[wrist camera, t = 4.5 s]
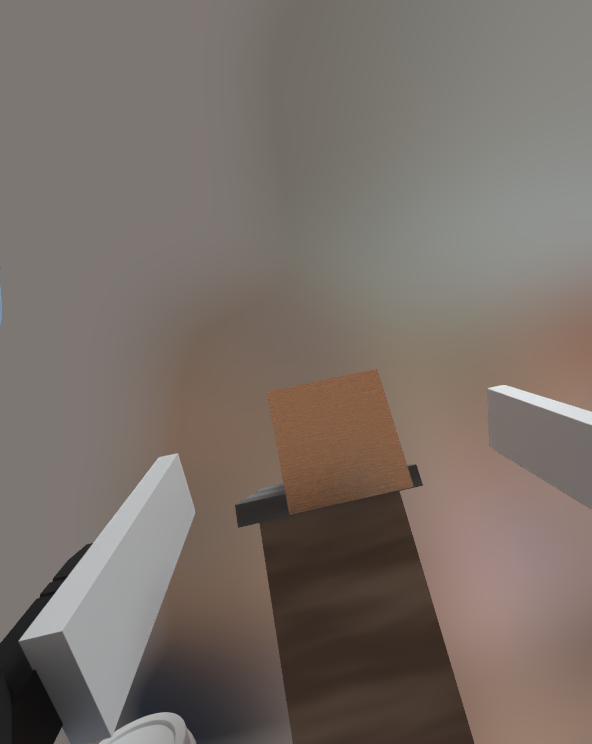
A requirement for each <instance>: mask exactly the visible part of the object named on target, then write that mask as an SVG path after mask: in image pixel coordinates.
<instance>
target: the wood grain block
mask: <svg viewBox="0 0 592 744" xmlns="http://www.w3.org/2000/svg"><path fill="white" fill-rule="evenodd" d="M267 394H268V400H269V405H270V410H271V416H272V421H273V427H274V432H275V438H276V443H277V449H278V454H279V460H280V466H281V471H282V477H283V482H284V488H285V493H286V499H287V504H288V510H289V515H292V514H297V513H301V512H305V511H310V510H314V509H318V508H323V507H327V506H332V505H336V504H340V503H345V502H349V501H353V500H358V499H362V498H367V497H371V496H375V495H380V494H384V493H389V492H393V491H397V490H402V489H406V488H410V487H414V486H413V483H412V480H411V477H410V473H409V470H408V467H407V464H406V461H405V457H404V454H403V451H402V448H401V445H400V441H399V438H398V435H397V432H396V428H395V425H394V422H393V419H392V416H391V413H390V409H389V406H388V403H387V400H386V396H385V393H384V390H383V387H382V384H381V381H380V377H379V374H378V371H377V369H376V370H371V371H366V372H362V373H357V374H352V375H347V376H342V377H337V378H332V379H327V380H322V381H317V382H312V383H307V384H302V385H297V386H293V387H288V388H284V389H278V390H273V391H268V392H267Z"/></svg>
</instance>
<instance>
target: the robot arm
mask: <svg viewBox="0 0 592 744" xmlns="http://www.w3.org/2000/svg"><path fill="white" fill-rule="evenodd" d="M1 319H2V299H1V286H0V326H1ZM487 395H488V421H489V445H490V448H492V449H493V450H495V451H497V452H498V453H500V454H502V455H503V456H505V457H506V458H508V459H510V460H512V461H513V462H515V463H516V464H518V465H520V466H521V467H523V468H524V469H526V470H528V471H529V472H531V473H533V474H534V475H536V476H538V477H539V478H541V479H542V480H544V481H546V482H547V483H549V484H550V485H552V486H554V487H556V488H557V489H559V490H560V491H562V492H563V493H565V494H567V495H568V496H570V497H572V498H573V499H575V500H576V501H578V502H580V503H581V504H583V505H585V506H586V507H588V508H589V509H591V510H592V412H590V411H587V410H584V409H581V408H577V407H574V406H571V405H567V404H564V403H561V402H558V401H554V400H552V399H548V398H545V397H542V396H538V395H535V394H532V393H529V392H526V391H522V390H519V389H516V388H513V387H510V386H506V385H501V386H496V387H492V388H487ZM194 515H195V509H194V505H193V502H192V499H191V495H190V492H189V489H188V485H187V482H186V479H185V475H184V472H183V469H182V466H181V462H180V459H179V456H178V454H173V455H168V456H164V457H159V458H158V459H157V460H156V462H155V463H154V464H153V466H152V467H151V468H150V470H149V471H148V472H147V473H146V475H145V476H144V478H143V479H142V480H141V481H140V483H139V484H138V485H137V487H136V488H135V489H134V491H133V492H132V493H131V494H130V496H129V497H128V498H127V500H126V501H125V502H124V504H123V505H122V506H121V508H120V509H119V510H118V512H117V513H116V514H115V515H114V517H113V518H112V519H111V521H110V522H109V523H108V525H107V526H106V527H105V529H104V530H103V531H102V532H101V534H100V535H99V536H98V538H97V539H96V540H95V542H94V543H91V544H87V545H86V546H84V547H83V548H82V549H81V550H80V551H79V552H77V553H76V554H75V555H74V556H73V557H72V558H70V559H69V560H68V561H67V562H66V563H65V565H64V566H63V567H62V568H61V570H60V571H59V572H58V573H57V574H56V576H55V577H54V578H53V582H51V583H49V584H48V585H47V587H46V588H45V589H44V590H43V592H42V593H41V594H40V598H38V599H36V600H35V602H34V603H33V604H32V605H31V606H30V608H29V609H28V610H27V611H26V613H25V614H24V615H23V616H22V617H21V619H20V620H19V621H18V622H17V624H16V625H15V626H14V628H13V629H12V630H11V631H10V632H9V634H8V635H7V636H6V637H5V638H4V640H3V641H2V642H1V643H0V744H53V743H54V741H55V739H56V737H57V735H58V733H59V731H60V729H61V728H63V730H64V732H65V734H66V736H67V738H68V740H69V741H70V743H71V744H88V743H92V742H96V741H99V740H103V739H107V738H111V737H112V735H113V733H114V730H115V727H116V724H117V722H118V719H119V716H120V714H121V711H122V708H123V706H124V703H125V700H126V697H127V695H128V692H129V689H130V687H131V684H132V681H133V679H134V676H135V673H136V671H137V668H138V665H139V662H140V660H141V657H142V654H143V652H144V649H145V646H146V643H147V641H148V638H149V636H150V633H151V630H152V628H153V625H154V622H155V619H156V617H157V614H158V611H159V609H160V606H161V603H162V600H163V598H164V595H165V593H166V590H167V587H168V584H169V582H170V579H171V576H172V574H173V571H174V568H175V566H176V563H177V560H178V558H179V555H180V552H181V550H182V547H183V544H184V542H185V539H186V536H187V533H188V531H189V528H190V525H191V523H192V520H193V517H194Z"/></svg>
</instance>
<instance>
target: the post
mask: <svg viewBox="0 0 592 744" xmlns="http://www.w3.org/2000/svg"><path fill="white" fill-rule="evenodd" d="M407 467H408V470H409V473H410V477H411V480H412V483H413V486H414V487H418V486H422V485H423V484H422V481H421V478H420V475H419V472H418V469H417V466H416V465H407ZM414 487H410V488H414ZM406 489H409V488H406ZM402 490H405V489H402ZM400 491H401V490H397V491H393V492H389V493H384V494H380V495H375V496H371V497H367V498H362V499H358V500H353V501H349V502H345V503H340V504H336V505H332V506H327V507H323V508H318V509H314V510H310V511H305V512H301V513H297V514H292V515H289V510H288V504H287V499H286V493H285V488H284V483H283V484H279V485H274V486H270V487H265V488H262V489H261V490H259V491H258V492H256V493H254V494H253V495H251V496H249V497H248V498H246V499H244V500H243V501H241V502H240V503H238V504H236V505H235V508H236V515H237V523H238V527H243V526H248V525H252V524H256V523H260V529H261V536H262V542H263V549H264V555H265V562H266V569H267V575H268V582H269V589H270V595H271V602H272V608H273V615H274V621H275V628H276V634H277V641H278V648H279V654H280V661H281V668H282V674H283V680H284V687H285V694H286V701H287V707H288V713H289V719H290V727H291V733H292V740H293V744H474V741H473V737H472V734H471V731H470V727H469V724H468V721H467V717H466V714H465V710H464V707H463V704H462V700H461V697H460V694H459V690H458V687H457V683H456V680H455V677H454V673H453V670H452V667H451V663H450V660H449V656H448V654H447V650H446V646H445V643H444V640H443V636H442V633H441V629H440V626H439V623H438V620H437V616H436V613H435V609H434V606H433V603H432V599H431V596H430V592H429V589H428V586H427V582H426V579H425V576H424V572H423V569H422V565H421V562H420V559H419V556H418V552H417V549H416V545H415V542H414V538H413V535H412V532H411V528H410V525H409V522H408V519H407V515H406V512H405V508H404V505H403V501H402V498H401V495H400Z"/></svg>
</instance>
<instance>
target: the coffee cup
mask: <svg viewBox="0 0 592 744" xmlns="http://www.w3.org/2000/svg"><path fill="white" fill-rule="evenodd" d="M99 744H196V741H195V739H194V738H193V735H192V734H191V732H190V731H189V730H188V729H187V728H186V726H185V723H184V721H183V719H182V718H181V717H180V716H178V715H176V714H174V713H167V712H165V713H156V714H152V715H149V716H145V717H143V718H140V719H138V720H135V721H133V722H131V723H129V724H127V725H126V726H124V727H122V728H121V729H119V730H117V731H116V732H114V733H113V735H112V737H111V738H107V739H104V740H103V741H101V742H100V743H99Z"/></svg>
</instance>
